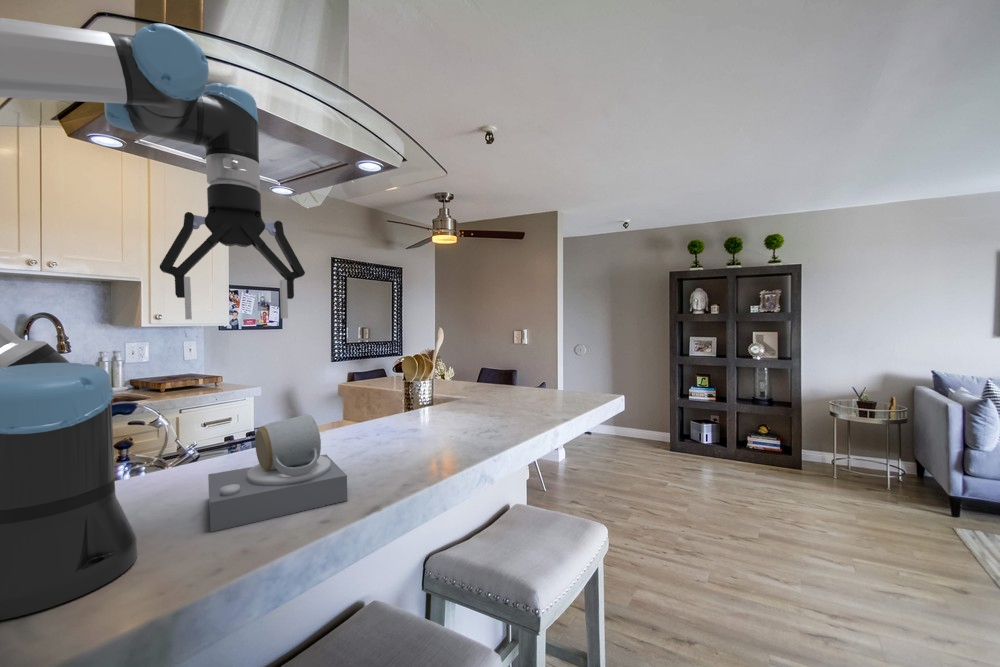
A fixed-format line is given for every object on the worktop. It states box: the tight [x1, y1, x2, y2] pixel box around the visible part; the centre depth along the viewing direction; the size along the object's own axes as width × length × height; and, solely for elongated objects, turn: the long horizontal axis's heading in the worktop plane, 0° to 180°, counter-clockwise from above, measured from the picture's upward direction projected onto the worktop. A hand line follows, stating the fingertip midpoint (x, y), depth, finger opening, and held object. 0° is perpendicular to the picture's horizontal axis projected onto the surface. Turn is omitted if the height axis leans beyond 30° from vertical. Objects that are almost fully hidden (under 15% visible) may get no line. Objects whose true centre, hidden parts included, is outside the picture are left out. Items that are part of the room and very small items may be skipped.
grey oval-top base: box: [207, 453, 349, 533], centre depth 71 cm, size 18×14×5 cm
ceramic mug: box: [254, 413, 322, 476], centre depth 71 cm, size 11×8×8 cm
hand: (238, 319), depth 74 cm, fingers open, 13 cm apart
